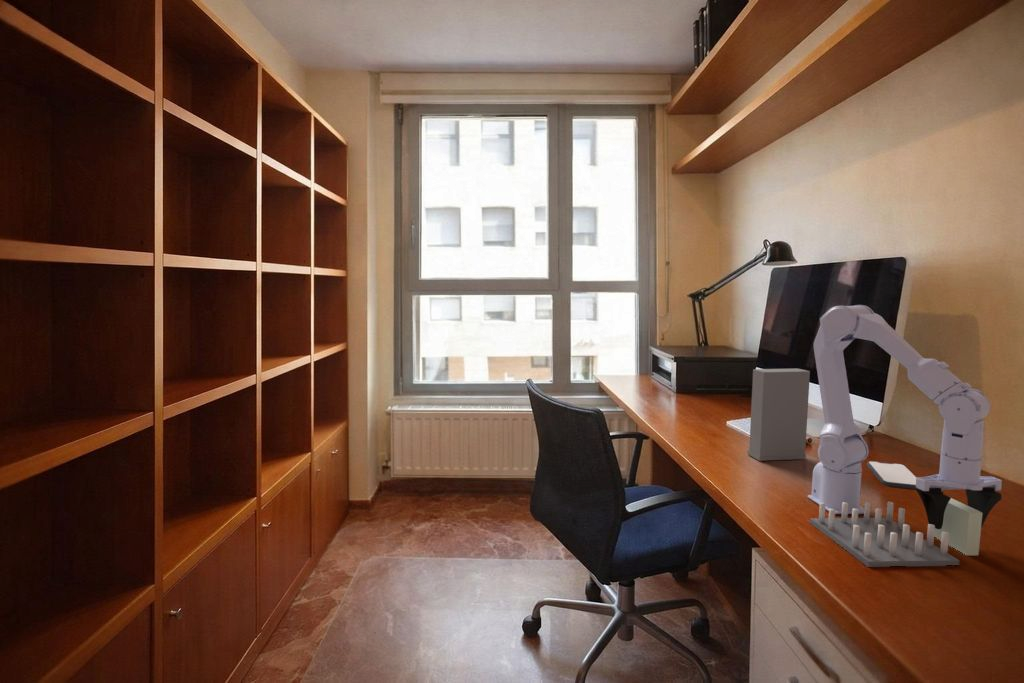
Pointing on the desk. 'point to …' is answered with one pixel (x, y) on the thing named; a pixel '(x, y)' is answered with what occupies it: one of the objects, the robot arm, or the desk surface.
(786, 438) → the tall grey upright box
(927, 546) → the dish rack
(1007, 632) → the desk surface
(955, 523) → the pale rectangular block
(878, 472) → the phone case
